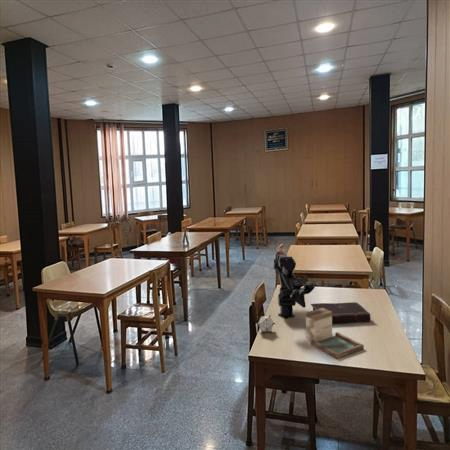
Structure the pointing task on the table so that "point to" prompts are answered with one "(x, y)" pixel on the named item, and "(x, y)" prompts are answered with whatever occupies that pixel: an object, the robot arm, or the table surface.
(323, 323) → the maple block
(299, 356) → the table surface
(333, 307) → the diary
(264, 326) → the white spiky ball
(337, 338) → the felt tray
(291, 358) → the table surface
